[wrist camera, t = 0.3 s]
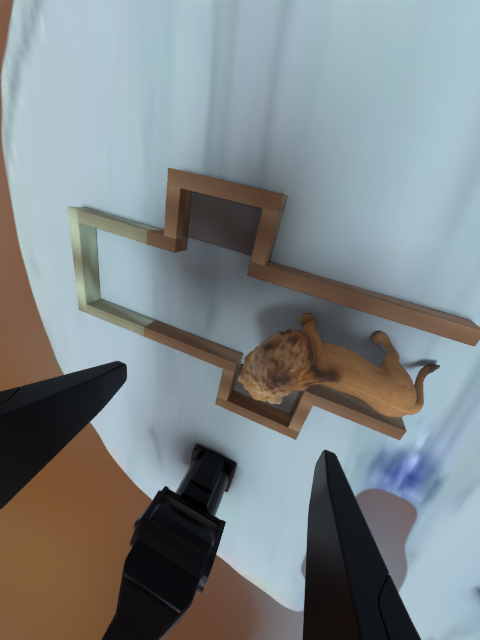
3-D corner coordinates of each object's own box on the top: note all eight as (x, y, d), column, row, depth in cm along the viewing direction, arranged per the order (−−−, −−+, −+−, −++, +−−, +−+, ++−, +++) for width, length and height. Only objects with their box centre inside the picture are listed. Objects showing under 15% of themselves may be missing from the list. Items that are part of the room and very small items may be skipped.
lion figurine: (261, 351, 25) (230, 414, 17) (265, 304, 23) (232, 350, 15) (425, 386, 21) (483, 489, 13) (450, 332, 19) (537, 416, 11)
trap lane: (369, 456, 25) (372, 473, 24) (95, 338, 33) (82, 345, 31) (523, 251, 15) (547, 255, 14) (81, 148, 23) (60, 142, 21)
